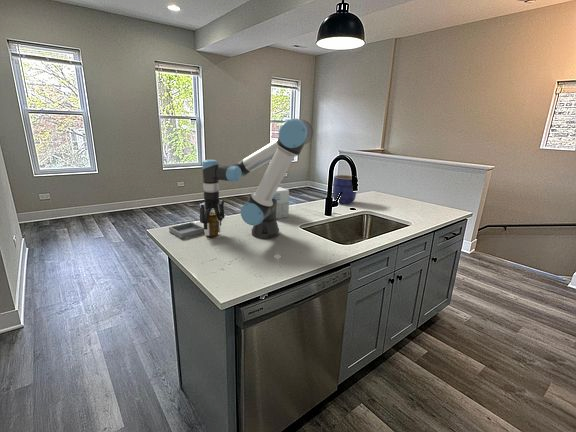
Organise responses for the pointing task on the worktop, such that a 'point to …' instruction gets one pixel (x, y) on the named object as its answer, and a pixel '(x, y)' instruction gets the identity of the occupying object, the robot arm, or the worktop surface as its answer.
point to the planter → (343, 189)
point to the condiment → (213, 227)
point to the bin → (186, 230)
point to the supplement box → (282, 202)
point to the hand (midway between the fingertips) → (213, 233)
